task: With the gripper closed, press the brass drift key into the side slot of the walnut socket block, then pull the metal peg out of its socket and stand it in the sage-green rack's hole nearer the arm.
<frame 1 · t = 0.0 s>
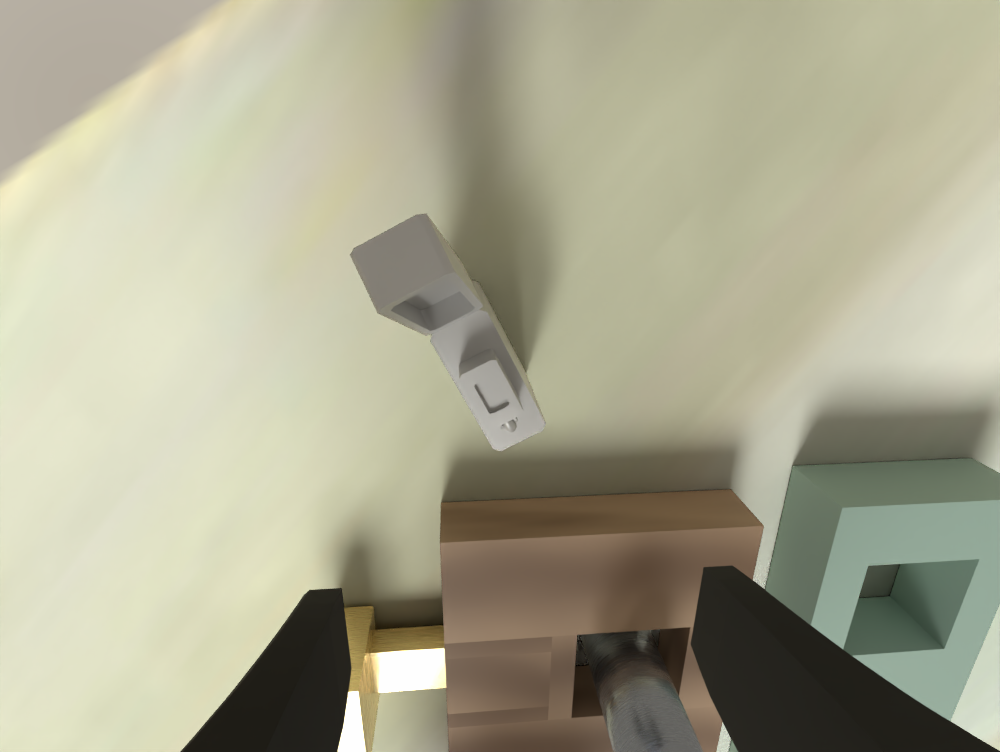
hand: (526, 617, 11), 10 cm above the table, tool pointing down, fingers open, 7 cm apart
socket block: (579, 628, 24), on the table
lighter: (462, 302, 19), on the table
metal peg: (612, 625, 24), resting in socket block
drift key: (400, 684, 22), point 2 cm above the table, slide at 0.0 cm
drill rack: (835, 627, 26), on the table
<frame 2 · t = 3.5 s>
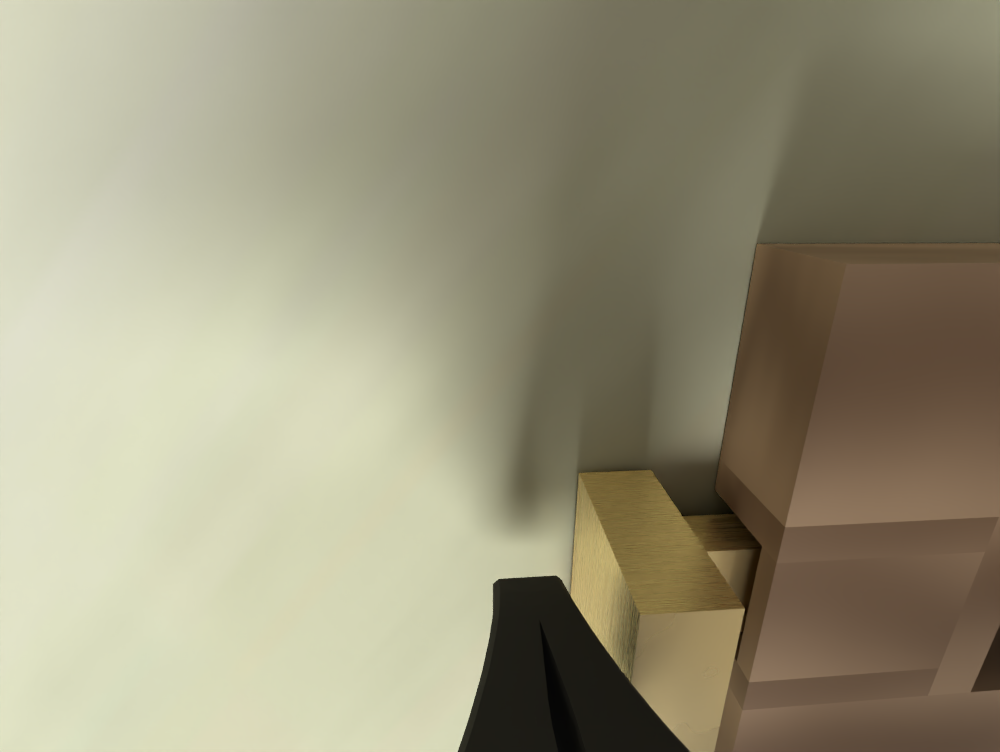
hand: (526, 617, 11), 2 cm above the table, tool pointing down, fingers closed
socket block: (938, 531, 13), on the table
drift key: (730, 615, 11), point 2 cm above the table, slide at 1.4 cm, touching gripper
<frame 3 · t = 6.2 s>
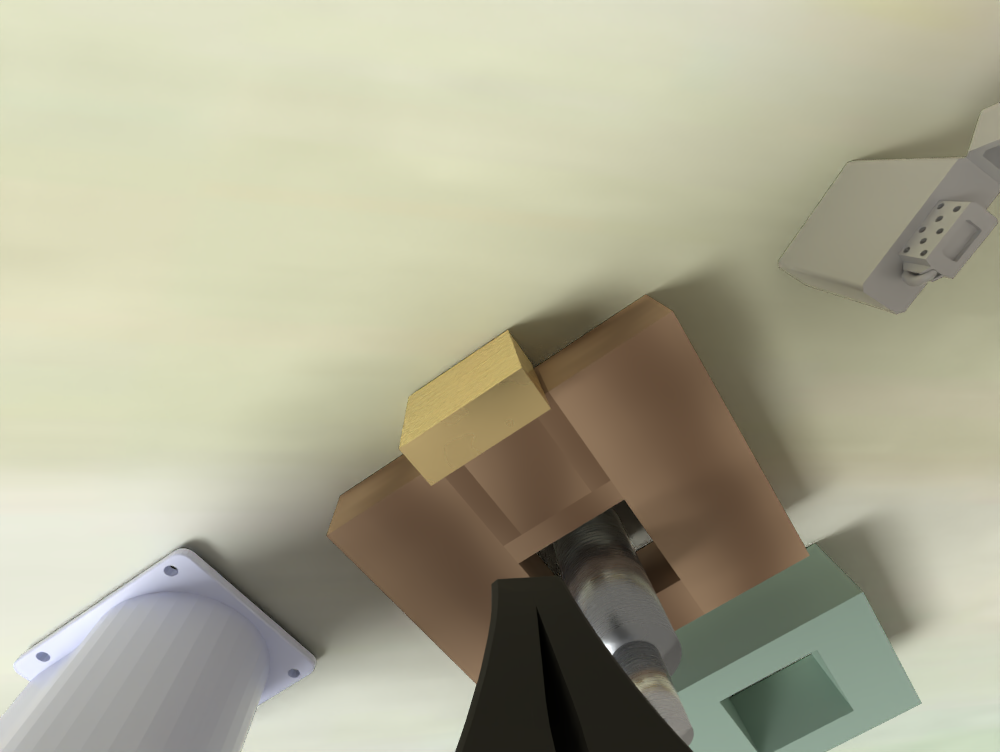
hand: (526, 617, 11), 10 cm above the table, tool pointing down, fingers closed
socket block: (567, 507, 22), on the table
lighter: (853, 186, 19), on the table
metal peg: (585, 530, 23), resting in socket block
drift key: (504, 444, 18), point 2 cm above the table, slide at 2.8 cm
drill rack: (680, 688, 27), on the table
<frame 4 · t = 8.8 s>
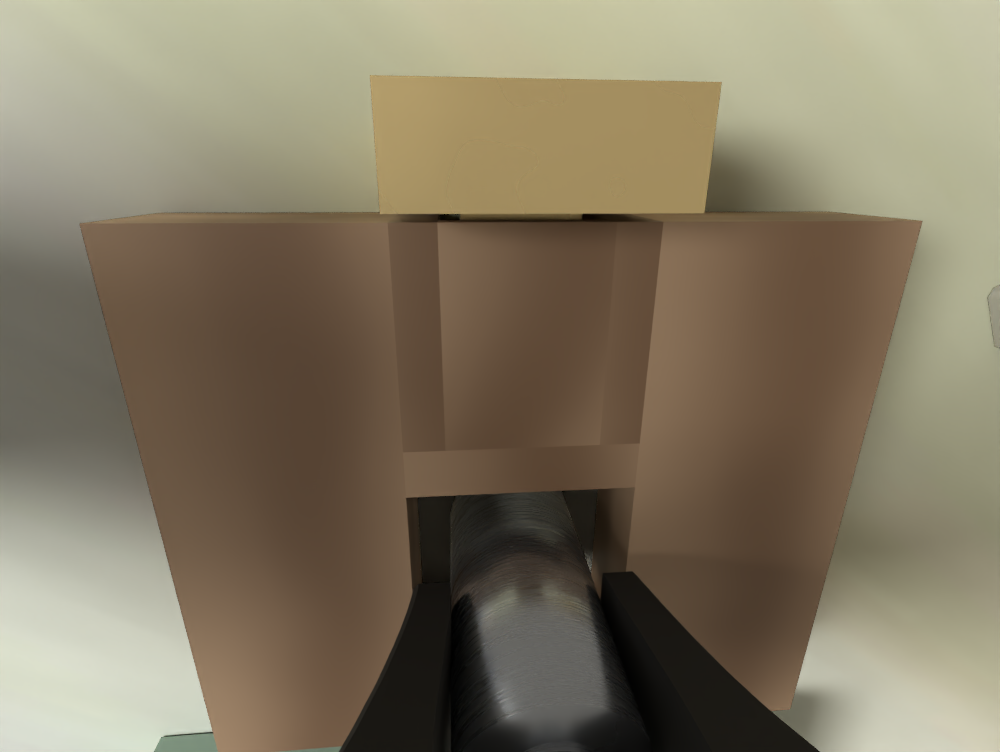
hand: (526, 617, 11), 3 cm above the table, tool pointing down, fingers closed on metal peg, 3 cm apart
socket block: (509, 464, 13), on the table
metal peg: (508, 515, 14), resting in socket block, touching gripper
drift key: (525, 273, 9), point 2 cm above the table, slide at 2.8 cm
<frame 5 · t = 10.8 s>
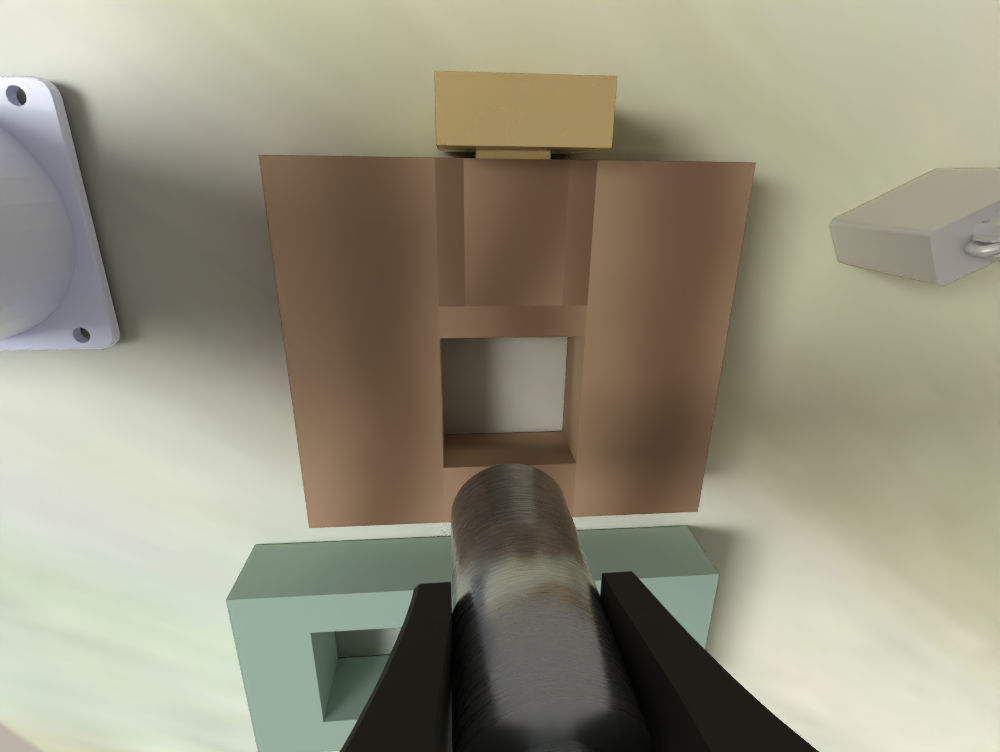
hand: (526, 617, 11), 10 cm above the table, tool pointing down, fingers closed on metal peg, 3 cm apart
socket block: (505, 339, 19), on the table
lighter: (923, 197, 19), on the table
metal peg: (509, 514, 14), point 7 cm above the table, touching gripper
drift key: (515, 192, 16), point 2 cm above the table, slide at 2.8 cm
drill rack: (478, 610, 24), on the table
when the fingers open (5 cm above the table, at t = 13.1 s): metal peg drops 2 cm, resting in drill rack.
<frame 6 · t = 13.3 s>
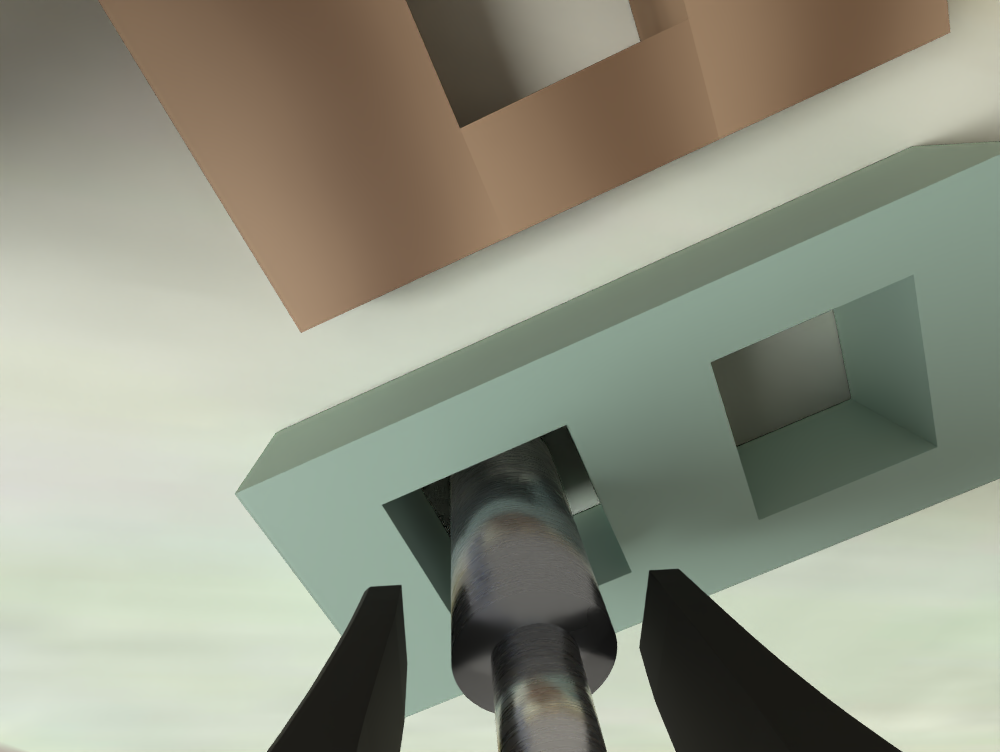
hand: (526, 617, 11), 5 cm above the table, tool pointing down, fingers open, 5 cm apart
metal peg: (501, 470, 16), resting in drill rack
drill rack: (628, 420, 15), on the table
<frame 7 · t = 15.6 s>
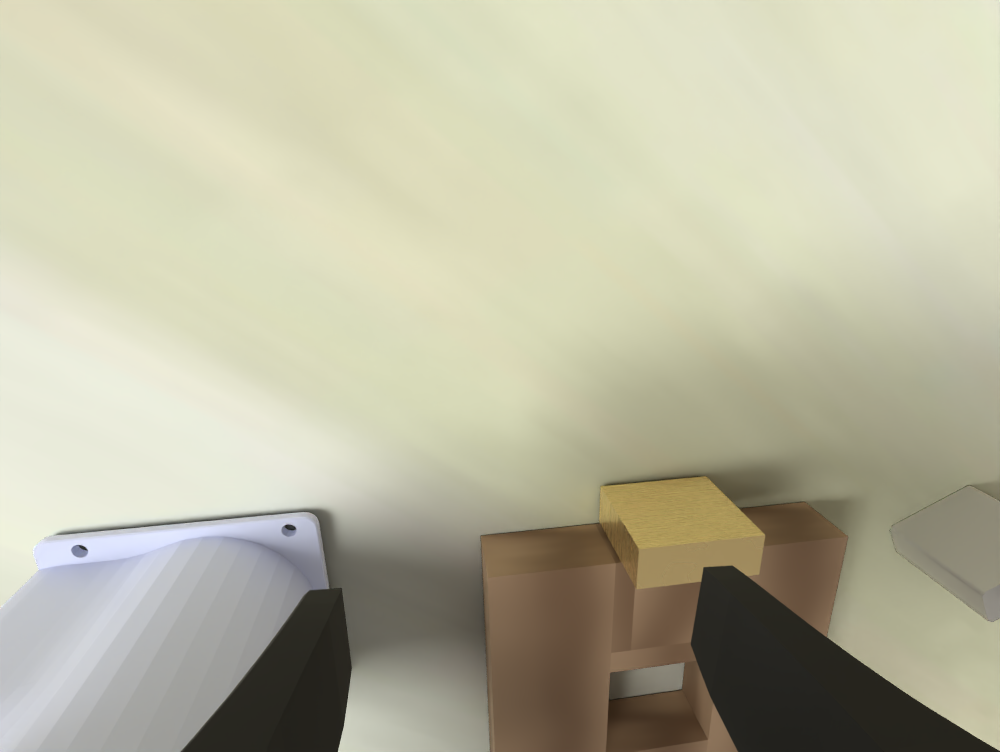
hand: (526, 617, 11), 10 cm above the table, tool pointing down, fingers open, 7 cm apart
socket block: (640, 633, 24), on the table
lighter: (959, 501, 25), on the table
drift key: (670, 571, 20), point 2 cm above the table, slide at 2.8 cm
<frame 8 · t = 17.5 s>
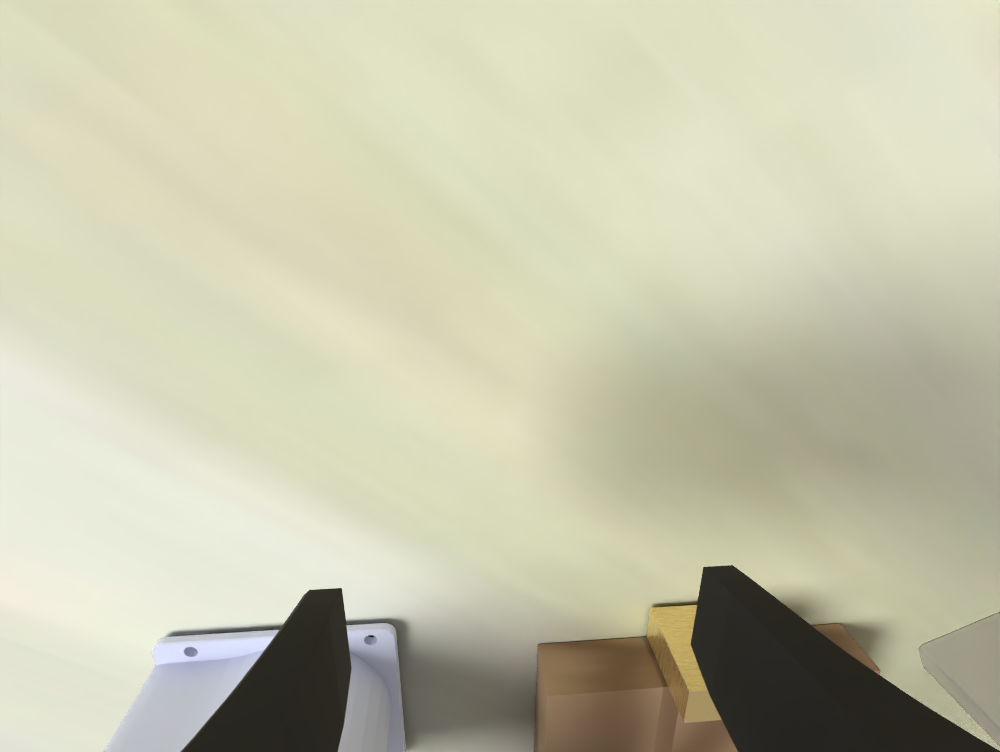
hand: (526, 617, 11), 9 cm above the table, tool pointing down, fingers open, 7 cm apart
socket block: (676, 728, 26), on the table
lighter: (988, 625, 26), on the table
drift key: (711, 692, 22), point 2 cm above the table, slide at 2.8 cm
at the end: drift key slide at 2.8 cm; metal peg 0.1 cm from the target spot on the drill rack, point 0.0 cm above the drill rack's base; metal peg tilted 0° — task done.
